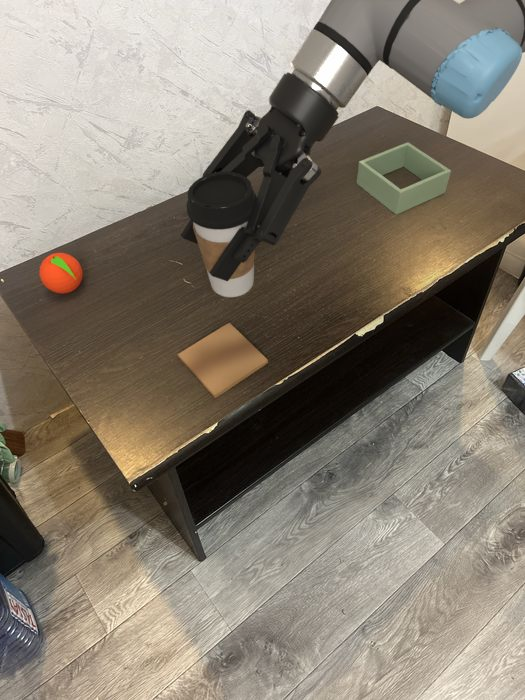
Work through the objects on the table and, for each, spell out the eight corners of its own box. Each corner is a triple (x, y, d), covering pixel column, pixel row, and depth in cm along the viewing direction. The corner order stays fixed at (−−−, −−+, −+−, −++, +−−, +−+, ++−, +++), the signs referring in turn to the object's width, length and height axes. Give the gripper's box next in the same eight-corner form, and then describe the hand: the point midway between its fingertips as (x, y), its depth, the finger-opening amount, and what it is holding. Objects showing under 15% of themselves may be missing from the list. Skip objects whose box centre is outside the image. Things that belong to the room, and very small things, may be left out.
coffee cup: (191, 296, 68) (170, 202, 56) (216, 255, 72) (201, 161, 60) (249, 310, 65) (240, 216, 54) (271, 267, 70) (267, 172, 58)
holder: (445, 192, 101) (451, 170, 97) (396, 214, 97) (400, 192, 93) (403, 163, 107) (407, 142, 104) (356, 183, 104) (358, 161, 100)
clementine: (100, 286, 89) (87, 256, 83) (69, 310, 86) (53, 280, 80) (71, 268, 92) (56, 238, 86) (40, 291, 89) (23, 260, 83)
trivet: (268, 362, 77) (268, 359, 76) (215, 398, 73) (214, 395, 73) (229, 325, 82) (229, 322, 81) (178, 357, 78) (177, 354, 78)
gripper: (390, 147, 52) (263, 314, 60) (286, 75, 63) (191, 224, 72) (353, 112, 46) (219, 301, 55) (246, 39, 58) (148, 206, 66)
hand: (203, 257), depth 63 cm, fingers closed on coffee cup, 8 cm apart
